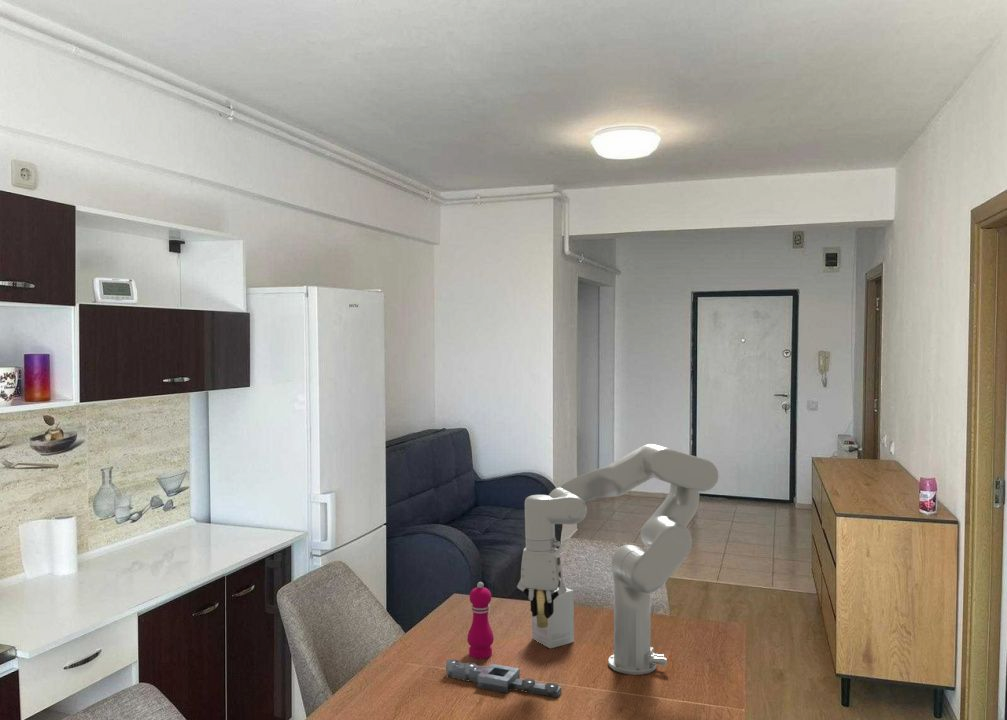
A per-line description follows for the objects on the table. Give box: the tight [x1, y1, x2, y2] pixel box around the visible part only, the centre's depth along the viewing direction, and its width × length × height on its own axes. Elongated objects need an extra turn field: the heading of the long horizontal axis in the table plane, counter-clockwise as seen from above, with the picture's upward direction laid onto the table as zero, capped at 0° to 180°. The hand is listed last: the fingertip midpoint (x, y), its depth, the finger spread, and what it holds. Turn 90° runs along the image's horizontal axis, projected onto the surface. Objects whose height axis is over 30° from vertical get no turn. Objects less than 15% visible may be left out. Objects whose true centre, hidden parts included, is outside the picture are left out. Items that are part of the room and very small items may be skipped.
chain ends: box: [445, 658, 562, 699], centre depth 194 cm, size 31×8×4 cm, turn 67°
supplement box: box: [531, 587, 575, 649], centre depth 222 cm, size 9×9×15 cm
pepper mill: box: [466, 581, 495, 660], centre depth 212 cm, size 7×7×20 cm
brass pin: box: [536, 589, 548, 628], centre depth 198 cm, size 3×3×10 cm
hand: (542, 615), depth 198 cm, fingers closed on brass pin, 3 cm apart
